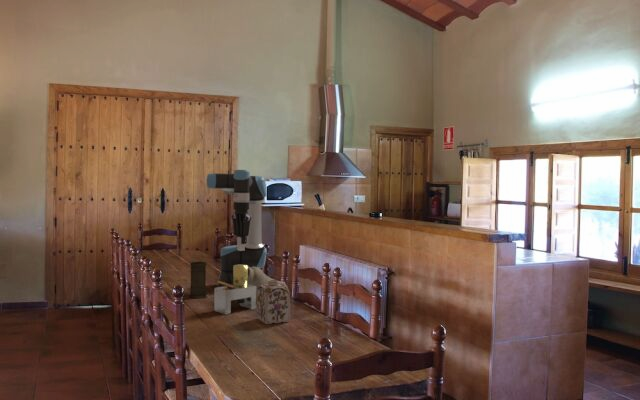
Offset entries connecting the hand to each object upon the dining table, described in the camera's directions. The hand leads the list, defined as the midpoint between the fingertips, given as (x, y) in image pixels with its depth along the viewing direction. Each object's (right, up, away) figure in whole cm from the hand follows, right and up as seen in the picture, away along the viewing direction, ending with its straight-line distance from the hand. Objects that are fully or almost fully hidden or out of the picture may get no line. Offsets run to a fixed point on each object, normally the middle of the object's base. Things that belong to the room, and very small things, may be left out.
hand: (241, 250), depth 267 cm
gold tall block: (0, -25, +1) cm, 25 cm away
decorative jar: (+17, -30, -19) cm, 39 cm away
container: (-26, -27, +26) cm, 46 cm away
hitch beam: (-3, -28, -1) cm, 29 cm away
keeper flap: (-6, -16, -5) cm, 18 cm away
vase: (+9, -28, +21) cm, 36 cm away
